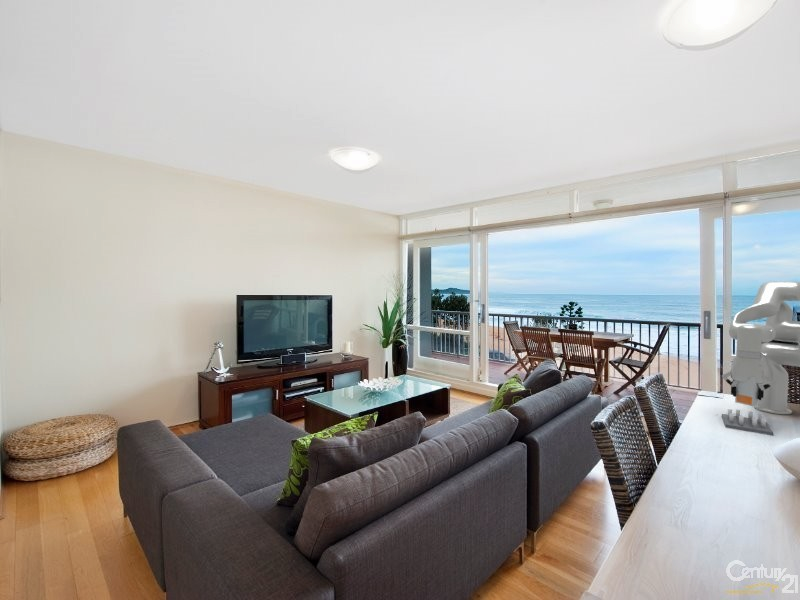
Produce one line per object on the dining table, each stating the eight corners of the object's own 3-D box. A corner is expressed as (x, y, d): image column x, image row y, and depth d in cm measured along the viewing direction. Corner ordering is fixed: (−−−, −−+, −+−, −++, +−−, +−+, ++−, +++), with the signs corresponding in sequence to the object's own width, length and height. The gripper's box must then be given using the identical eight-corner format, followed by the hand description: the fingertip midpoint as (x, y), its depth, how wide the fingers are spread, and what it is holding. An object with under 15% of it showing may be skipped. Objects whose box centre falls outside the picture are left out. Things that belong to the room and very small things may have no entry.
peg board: (721, 416, 166) (721, 405, 166) (765, 423, 158) (765, 412, 158) (725, 427, 153) (726, 415, 153) (773, 435, 145) (773, 423, 145)
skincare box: (734, 402, 157) (735, 374, 156) (740, 401, 159) (741, 373, 158) (753, 406, 151) (754, 377, 151) (758, 405, 153) (759, 376, 153)
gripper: (776, 356, 152) (773, 399, 153) (720, 351, 162) (718, 392, 163) (780, 359, 146) (778, 403, 147) (721, 353, 156) (720, 395, 157)
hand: (746, 397), depth 155 cm, fingers closed on skincare box, 7 cm apart
